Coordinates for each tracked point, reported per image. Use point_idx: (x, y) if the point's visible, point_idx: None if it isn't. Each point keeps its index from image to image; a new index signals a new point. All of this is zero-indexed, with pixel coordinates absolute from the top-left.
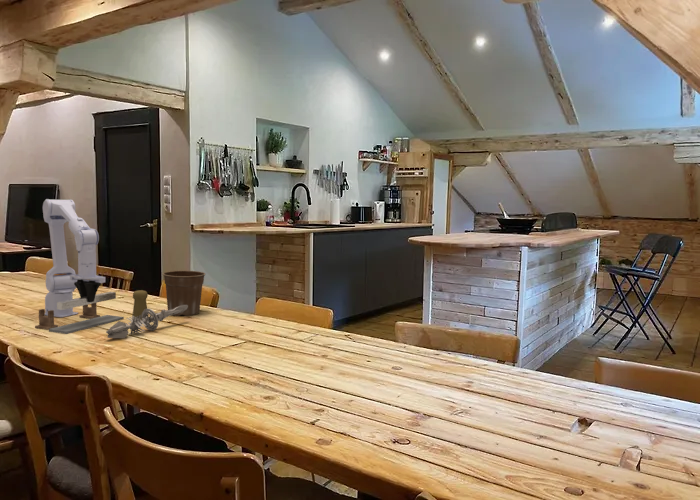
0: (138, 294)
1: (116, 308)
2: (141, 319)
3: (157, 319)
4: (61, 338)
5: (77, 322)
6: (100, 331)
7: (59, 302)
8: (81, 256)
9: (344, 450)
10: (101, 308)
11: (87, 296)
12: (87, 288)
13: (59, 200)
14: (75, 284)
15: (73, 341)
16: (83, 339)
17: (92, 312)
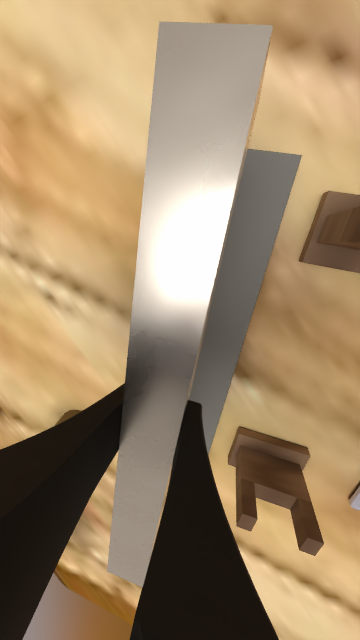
0: None
1: (251, 563)
2: (62, 417)
3: None
4: (131, 38)
5: (237, 336)
6: (75, 247)
7: (216, 23)
8: None
9: None
10: (304, 569)
11: (112, 407)
12: (22, 465)
13: None
14: (236, 623)
15: (38, 9)
16: (31, 77)
17: (245, 461)
